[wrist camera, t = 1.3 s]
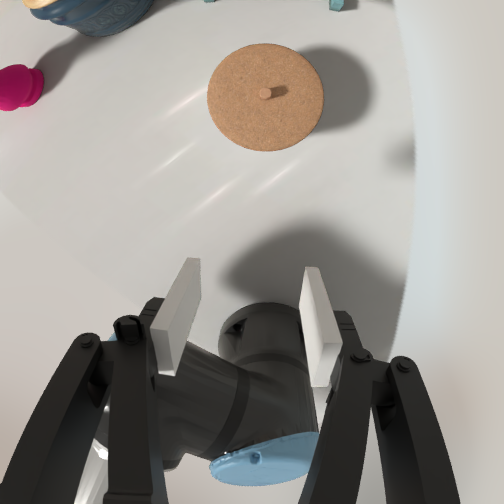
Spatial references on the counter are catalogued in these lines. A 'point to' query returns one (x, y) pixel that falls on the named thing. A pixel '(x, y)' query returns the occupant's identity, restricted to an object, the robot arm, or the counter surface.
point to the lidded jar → (265, 97)
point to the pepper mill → (19, 86)
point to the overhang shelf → (334, 4)
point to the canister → (90, 14)
